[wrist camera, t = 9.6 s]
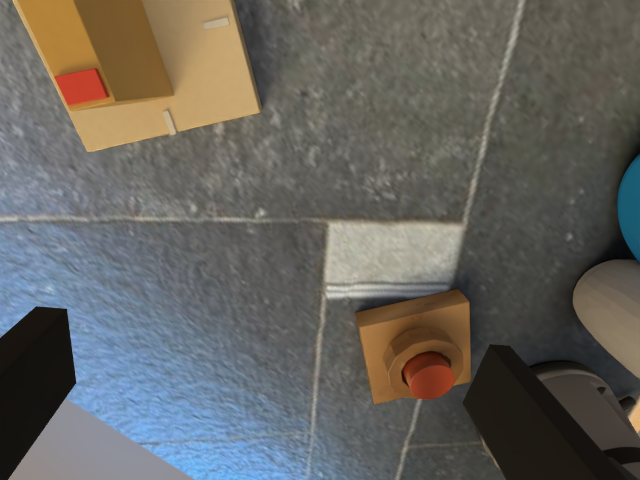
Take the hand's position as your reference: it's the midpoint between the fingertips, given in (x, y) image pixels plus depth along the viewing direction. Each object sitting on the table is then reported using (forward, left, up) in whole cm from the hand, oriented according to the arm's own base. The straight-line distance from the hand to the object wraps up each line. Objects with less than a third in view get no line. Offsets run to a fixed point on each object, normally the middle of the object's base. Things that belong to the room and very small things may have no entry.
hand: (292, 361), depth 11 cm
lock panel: (+6, -12, -18) cm, 22 cm away
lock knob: (+6, -12, -14) cm, 19 cm away
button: (-8, +17, -14) cm, 24 cm away
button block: (-8, +17, -18) cm, 26 cm away
